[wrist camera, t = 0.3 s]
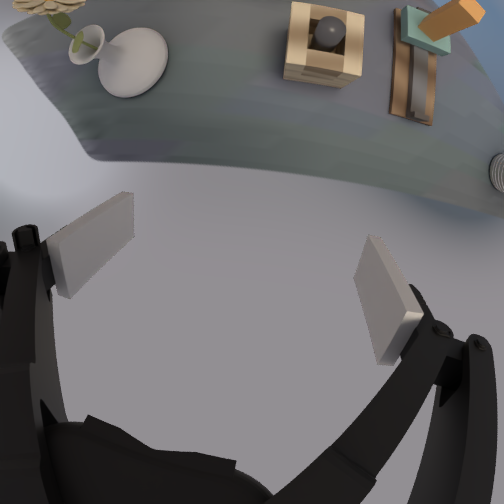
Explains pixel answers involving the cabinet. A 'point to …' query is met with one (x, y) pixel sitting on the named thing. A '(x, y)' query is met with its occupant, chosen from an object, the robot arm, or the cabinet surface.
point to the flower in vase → (108, 48)
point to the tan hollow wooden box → (318, 62)
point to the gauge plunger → (328, 34)
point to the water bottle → (497, 172)
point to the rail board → (403, 73)
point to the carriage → (438, 24)
